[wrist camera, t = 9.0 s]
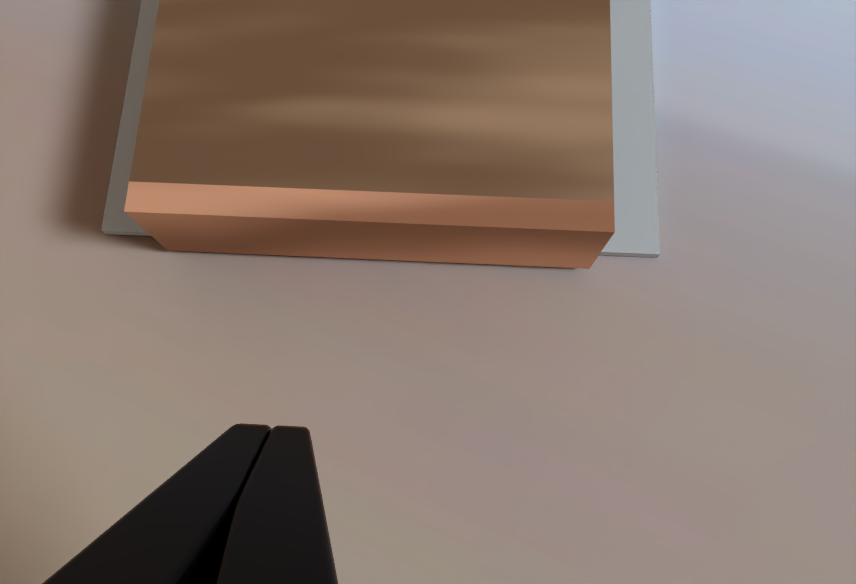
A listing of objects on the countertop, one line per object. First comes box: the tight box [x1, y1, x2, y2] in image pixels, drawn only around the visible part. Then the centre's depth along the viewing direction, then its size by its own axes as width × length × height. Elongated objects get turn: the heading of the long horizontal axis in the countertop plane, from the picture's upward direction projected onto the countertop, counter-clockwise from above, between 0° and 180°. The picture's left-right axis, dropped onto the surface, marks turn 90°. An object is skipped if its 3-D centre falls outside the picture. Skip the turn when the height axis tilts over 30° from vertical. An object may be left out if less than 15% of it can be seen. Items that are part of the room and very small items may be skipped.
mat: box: [101, 0, 660, 258], centre depth 23 cm, size 16×16×1 cm
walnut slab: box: [124, 0, 615, 269], centre depth 21 cm, size 3×12×14 cm
